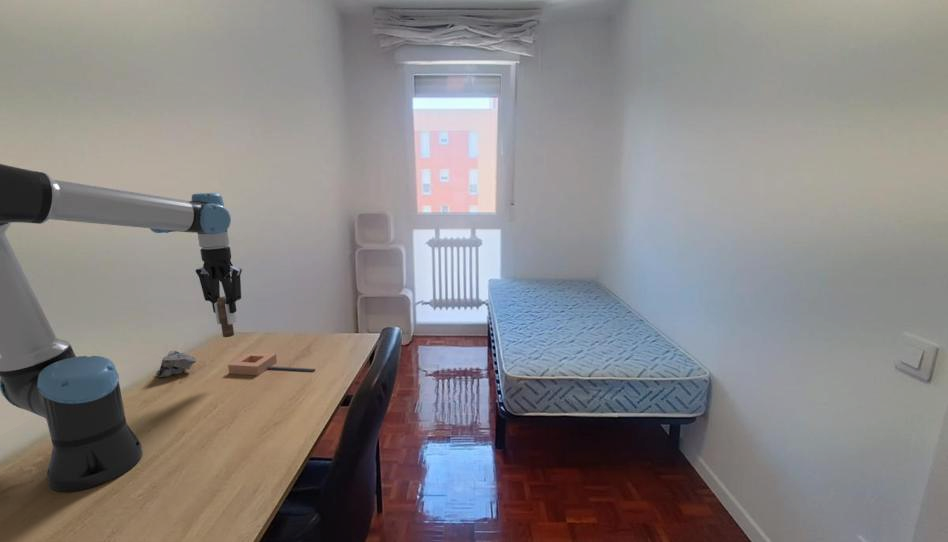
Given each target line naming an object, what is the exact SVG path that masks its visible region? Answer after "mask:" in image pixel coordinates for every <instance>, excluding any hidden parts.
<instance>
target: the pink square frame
mask: <svg viewBox="0 0 948 542" xmlns="http://www.w3.org/2000/svg"><path fill="white" fill-rule="evenodd" d="M277 359H278V358H277V354H276V353H267V352H250V351H249V352H247V353H245V354H244V355H242V356H240V357H239V358H237V359H235V360H233V361H231V362H230V363H229V364H227V366H228V374H230V375H246V376H260V375H262V374H263V373H265V371H266V370H268V369H267V367H268V366H272V367H273V366H274V365H275V364H277V362H278V361H277Z"/></svg>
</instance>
